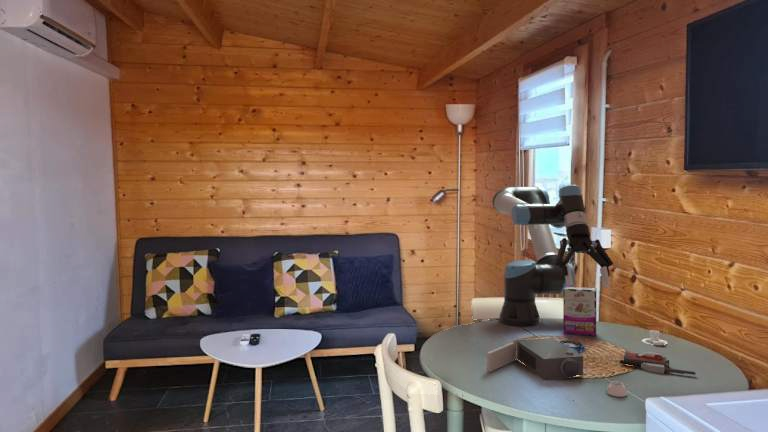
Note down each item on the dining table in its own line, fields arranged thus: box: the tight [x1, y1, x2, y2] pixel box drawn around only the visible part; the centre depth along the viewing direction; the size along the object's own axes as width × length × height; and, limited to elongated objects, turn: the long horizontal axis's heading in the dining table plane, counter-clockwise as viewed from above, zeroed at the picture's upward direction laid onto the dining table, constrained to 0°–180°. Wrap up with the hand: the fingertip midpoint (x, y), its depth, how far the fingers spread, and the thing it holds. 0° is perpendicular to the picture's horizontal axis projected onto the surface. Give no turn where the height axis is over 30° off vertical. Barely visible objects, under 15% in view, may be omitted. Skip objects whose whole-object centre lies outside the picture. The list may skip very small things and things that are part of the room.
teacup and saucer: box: [641, 329, 669, 346], centre depth 192 cm, size 9×8×4 cm
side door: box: [486, 340, 517, 373], centre depth 170 cm, size 15×1×6 cm, turn 136°
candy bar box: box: [562, 286, 598, 337], centre depth 203 cm, size 11×5×16 cm, turn 68°
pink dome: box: [605, 380, 628, 398], centre depth 148 cm, size 5×3×5 cm
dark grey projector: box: [516, 337, 584, 381], centre depth 167 cm, size 20×12×7 cm, turn 11°
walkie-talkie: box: [619, 350, 696, 375], centre depth 167 cm, size 9×4×20 cm
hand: (588, 285), depth 188 cm, fingers open, 13 cm apart
